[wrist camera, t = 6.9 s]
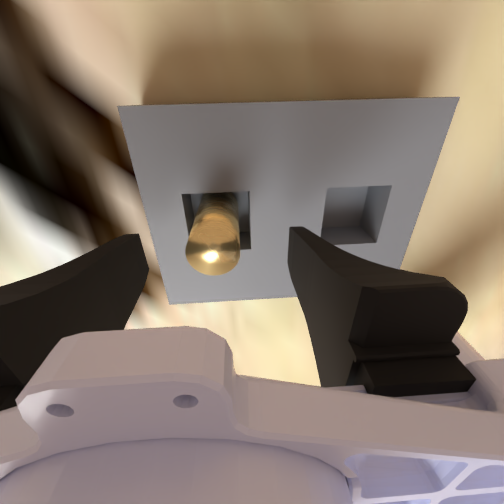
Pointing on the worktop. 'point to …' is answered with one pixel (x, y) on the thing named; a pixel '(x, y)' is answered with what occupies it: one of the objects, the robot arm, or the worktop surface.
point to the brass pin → (215, 235)
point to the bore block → (284, 181)
